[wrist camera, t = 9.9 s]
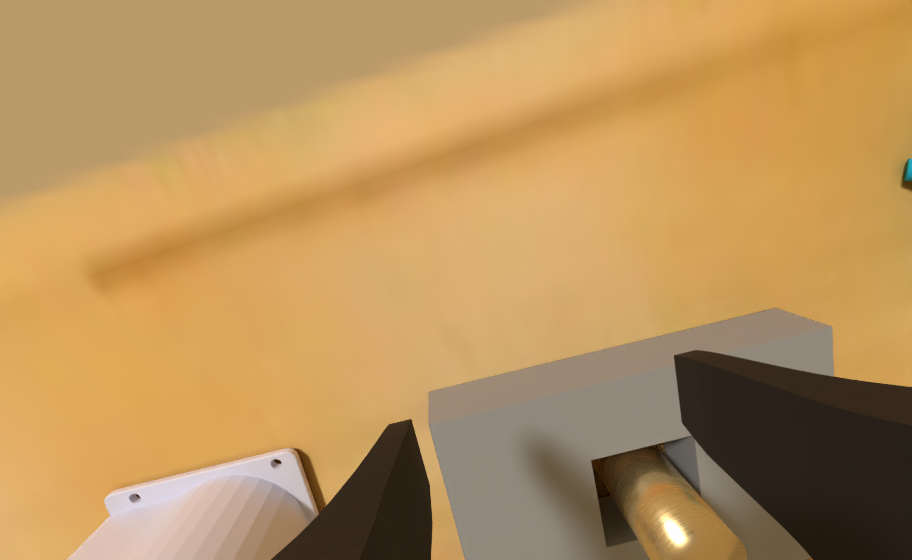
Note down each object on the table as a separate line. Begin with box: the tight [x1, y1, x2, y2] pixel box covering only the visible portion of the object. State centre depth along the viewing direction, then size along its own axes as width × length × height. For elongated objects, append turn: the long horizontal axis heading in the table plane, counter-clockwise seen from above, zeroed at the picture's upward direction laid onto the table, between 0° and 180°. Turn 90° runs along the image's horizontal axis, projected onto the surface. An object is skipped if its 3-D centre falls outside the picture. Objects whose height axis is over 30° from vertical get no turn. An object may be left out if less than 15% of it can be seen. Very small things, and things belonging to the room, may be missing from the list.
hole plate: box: [429, 308, 834, 560], centre depth 21 cm, size 18×12×3 cm, turn 103°
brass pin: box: [591, 445, 747, 560], centre depth 19 cm, size 3×3×7 cm
